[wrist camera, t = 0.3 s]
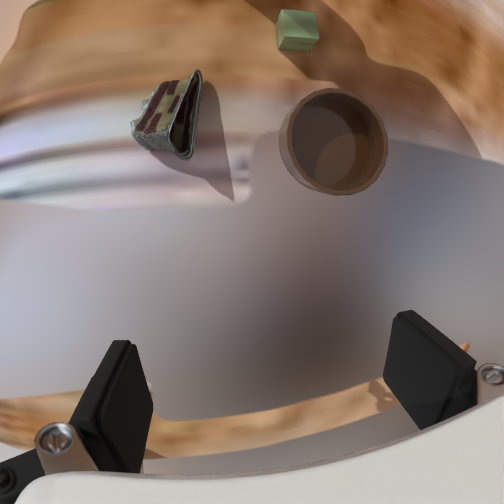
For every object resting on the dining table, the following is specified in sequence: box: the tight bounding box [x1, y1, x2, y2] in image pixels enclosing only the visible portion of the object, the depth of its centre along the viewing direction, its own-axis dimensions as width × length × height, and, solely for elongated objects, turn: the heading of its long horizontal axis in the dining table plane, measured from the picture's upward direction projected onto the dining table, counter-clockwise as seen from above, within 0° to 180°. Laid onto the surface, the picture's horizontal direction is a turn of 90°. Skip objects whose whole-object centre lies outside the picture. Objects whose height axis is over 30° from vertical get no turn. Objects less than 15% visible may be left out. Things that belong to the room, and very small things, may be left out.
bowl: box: [279, 88, 388, 195], centre depth 35 cm, size 13×13×5 cm
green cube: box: [275, 9, 320, 51], centre depth 31 cm, size 4×4×4 cm
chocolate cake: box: [130, 69, 203, 160], centre depth 33 cm, size 10×7×12 cm
